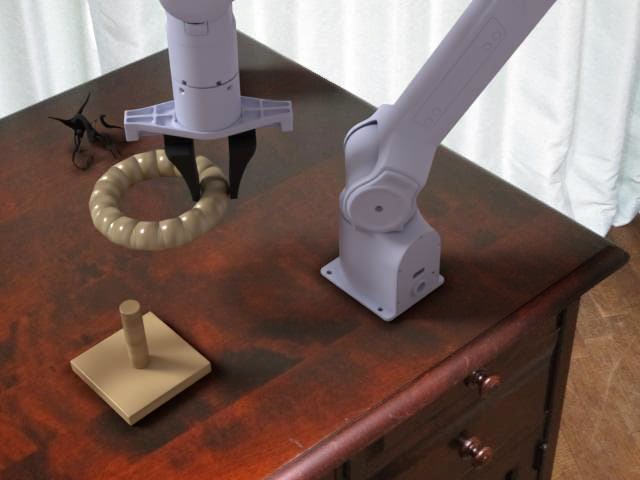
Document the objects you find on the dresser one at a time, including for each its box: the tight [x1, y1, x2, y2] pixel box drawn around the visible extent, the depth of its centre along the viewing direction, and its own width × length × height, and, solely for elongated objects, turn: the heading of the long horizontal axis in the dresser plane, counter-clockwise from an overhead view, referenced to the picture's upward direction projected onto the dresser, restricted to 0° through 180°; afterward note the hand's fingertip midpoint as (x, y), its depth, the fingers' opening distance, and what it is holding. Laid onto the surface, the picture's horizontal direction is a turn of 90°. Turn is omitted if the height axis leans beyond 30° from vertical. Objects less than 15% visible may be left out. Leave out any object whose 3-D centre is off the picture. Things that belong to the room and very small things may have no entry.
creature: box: [47, 91, 129, 170], centre depth 127 cm, size 8×5×8 cm
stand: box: [69, 299, 212, 426], centre depth 101 cm, size 9×9×8 cm
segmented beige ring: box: [88, 149, 230, 252], centre depth 106 cm, size 13×13×3 cm
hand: (215, 193), depth 106 cm, fingers closed on segmented beige ring, 3 cm apart
